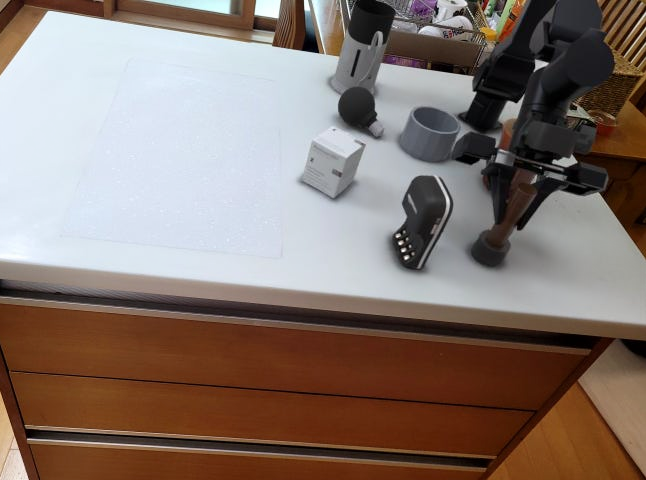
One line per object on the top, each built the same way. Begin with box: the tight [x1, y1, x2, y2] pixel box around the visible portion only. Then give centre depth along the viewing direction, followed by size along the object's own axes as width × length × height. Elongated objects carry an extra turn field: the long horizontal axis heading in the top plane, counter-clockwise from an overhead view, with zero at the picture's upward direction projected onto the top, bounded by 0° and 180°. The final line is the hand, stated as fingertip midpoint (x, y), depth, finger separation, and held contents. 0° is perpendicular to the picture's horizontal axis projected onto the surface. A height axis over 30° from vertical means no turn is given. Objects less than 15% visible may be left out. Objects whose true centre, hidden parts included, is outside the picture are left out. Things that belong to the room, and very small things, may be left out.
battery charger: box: [391, 174, 454, 269], centre depth 71 cm, size 7×4×11 cm, turn 7°
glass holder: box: [330, 0, 397, 96], centre depth 100 cm, size 9×14×15 cm, turn 2°
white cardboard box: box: [301, 125, 367, 199], centre depth 81 cm, size 6×6×7 cm
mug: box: [481, 117, 541, 199], centre depth 86 cm, size 12×9×10 cm
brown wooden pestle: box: [470, 183, 538, 268], centre depth 73 cm, size 4×4×12 cm
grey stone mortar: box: [399, 105, 462, 163], centre depth 94 cm, size 9×9×6 cm
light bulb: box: [337, 87, 386, 138], centre depth 95 cm, size 6×6×10 cm
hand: (508, 227), depth 72 cm, fingers closed on brown wooden pestle, 2 cm apart
